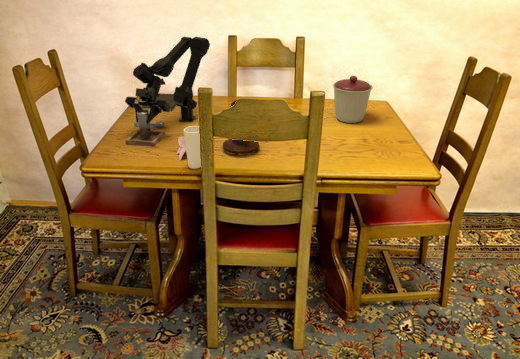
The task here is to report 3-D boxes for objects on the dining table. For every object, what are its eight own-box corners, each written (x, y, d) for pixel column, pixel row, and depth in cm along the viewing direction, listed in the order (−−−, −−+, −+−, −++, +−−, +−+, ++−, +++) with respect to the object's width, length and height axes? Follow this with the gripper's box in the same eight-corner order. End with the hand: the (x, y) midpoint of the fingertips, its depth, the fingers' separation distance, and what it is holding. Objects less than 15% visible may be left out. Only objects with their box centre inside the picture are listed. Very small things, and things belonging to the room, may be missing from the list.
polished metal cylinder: (142, 133, 196) (139, 109, 190) (153, 134, 195) (150, 109, 190) (138, 137, 192) (134, 113, 186) (148, 138, 191) (145, 113, 186)
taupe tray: (138, 134, 201) (137, 129, 200) (165, 136, 199) (164, 131, 198) (125, 145, 190) (125, 140, 189) (154, 147, 188) (153, 142, 187)
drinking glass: (201, 171, 168) (198, 133, 161) (183, 169, 169) (180, 131, 162) (206, 163, 174) (204, 126, 167) (189, 161, 175) (187, 125, 168)
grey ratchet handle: (133, 127, 207) (133, 122, 206) (137, 123, 210) (136, 119, 209) (163, 129, 205) (162, 124, 204) (166, 125, 208) (165, 121, 207)
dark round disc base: (216, 147, 188) (214, 100, 178) (247, 140, 195) (247, 94, 185) (233, 160, 177) (232, 111, 167) (265, 152, 183) (266, 105, 174)
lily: (181, 149, 188) (169, 133, 182) (207, 140, 185) (195, 123, 179) (179, 169, 180) (166, 153, 173) (206, 160, 177) (194, 143, 170)
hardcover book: (140, 111, 227) (139, 107, 226) (153, 97, 248) (153, 93, 246) (171, 112, 226) (171, 108, 225) (182, 98, 246) (182, 94, 245)
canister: (366, 128, 208) (371, 83, 198) (326, 123, 213) (330, 79, 203) (370, 115, 223) (375, 72, 213) (333, 111, 228) (337, 69, 218)
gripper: (124, 77, 188) (112, 111, 184) (164, 81, 183) (154, 116, 179) (136, 90, 198) (126, 123, 194) (175, 94, 194) (165, 128, 189)
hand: (142, 122), depth 189 cm, fingers closed on polished metal cylinder, 4 cm apart
